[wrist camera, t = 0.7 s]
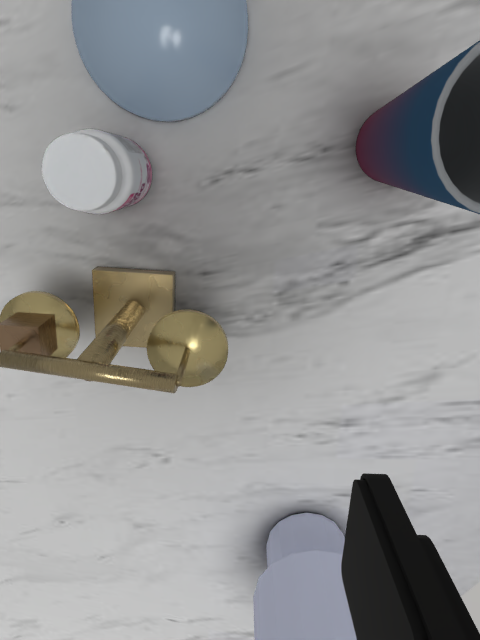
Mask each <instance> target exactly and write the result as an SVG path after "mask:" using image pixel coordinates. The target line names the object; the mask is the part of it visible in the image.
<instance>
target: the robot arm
mask: <svg viewBox="0 0 480 640" xmlns="http://www.w3.org/2000/svg"><path fill="white" fill-rule="evenodd" d="M341 574H342V580H343V585H344V589H345V593H346V597H347V601H348V605H349V609H350V614H351V618H352V622H353V626H354V630H355V634H356V638H357V640H480V634H479V632H478V630H477V628H476V626H475V624H474V622H473V620H472V618H471V616H470V615H469V612H468V610H467V608H466V606H465V604H464V603H463V601H462V599H461V597H460V595H459V593H458V591H457V589H456V587H455V585H454V583H453V581H452V579H451V577H450V575H449V573H448V571H447V569H446V567H445V565H444V563H443V562H442V560H441V558H440V556H439V554H438V552H437V550H436V548H435V546H434V544H433V543H432V541H431V539H430V538H429V537H427V536H426V535H417V534H416V532H415V530H414V528H413V526H412V524H411V522H410V520H409V518H408V516H407V514H406V511H405V509H404V507H403V505H402V503H401V501H400V499H399V497H398V495H397V493H396V491H395V489H394V486H393V484H392V482H391V480H390V478H389V477H388V475H386V474H362V476H361V479H360V480H354V482H353V487H352V493H351V500H350V507H349V514H348V521H347V528H346V535H345V542H344V549H343V555H342V562H341Z"/></svg>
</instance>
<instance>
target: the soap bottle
mask: <svg viewBox="0 0 480 640" xmlns="http://www.w3.org/2000/svg"><path fill="white" fill-rule="evenodd" d="M344 542H345V538H344V535H343V533H342V531H341V530H340V529H339V528H338V526H337V525H336V524H335V522H334V521H332V520H330V519H328V518H326V517H325V516H323V515H319V514H312V513H301V514H295V515H291V516H289V517H287V518H285V519H283V520H281V521H279V522H278V523H277V524H276V526H275V527H274V528H273V529H272V530H271V531H270V534H269V538H268V541H267V545H266V550H267V566H268V568H267V569H266V570H265V572H264V573H263V574H262V575H261V576H260V577H259V579H258V582H257V586H256V590H255V593H254V636H255V640H357V638H356V634H355V630H354V626H353V622H352V618H351V614H350V609H349V605H348V601H347V597H346V593H345V589H344V585H343V580H342V574H341V562H342V555H343V549H344Z"/></svg>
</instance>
